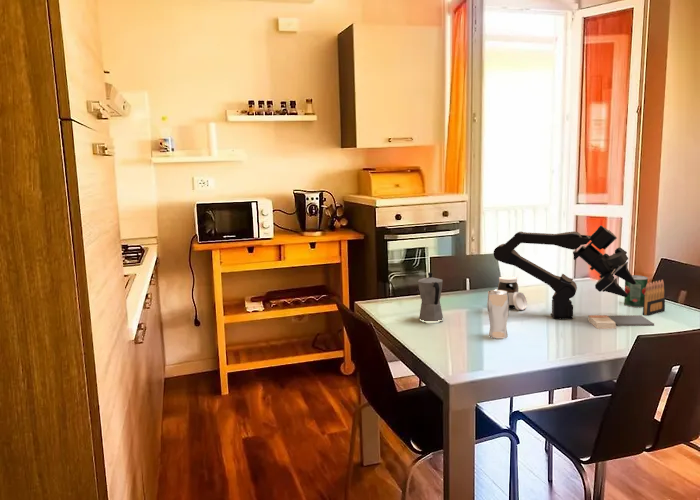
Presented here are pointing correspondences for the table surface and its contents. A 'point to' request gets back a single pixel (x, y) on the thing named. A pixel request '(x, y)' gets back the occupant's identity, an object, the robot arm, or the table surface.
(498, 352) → the table surface
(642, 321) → the card mat
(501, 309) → the beer glass
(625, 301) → the canned tomato
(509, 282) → the spread jar
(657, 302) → the ammunition clip
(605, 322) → the card deck
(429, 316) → the coffeepot
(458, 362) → the table surface
